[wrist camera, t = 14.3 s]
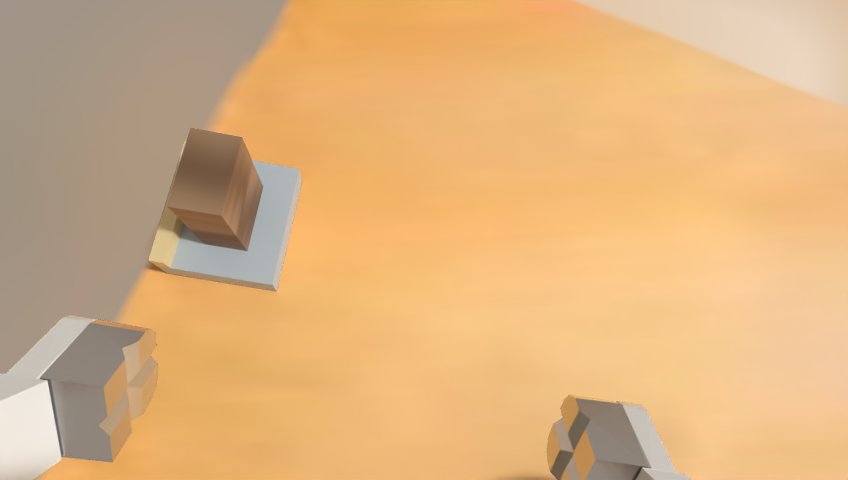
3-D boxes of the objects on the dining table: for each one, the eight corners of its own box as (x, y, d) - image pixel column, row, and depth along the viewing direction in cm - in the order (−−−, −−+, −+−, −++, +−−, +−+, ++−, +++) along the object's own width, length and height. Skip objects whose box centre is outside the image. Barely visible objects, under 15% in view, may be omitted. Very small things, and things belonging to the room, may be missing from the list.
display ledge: (276, 291, 40) (269, 280, 36) (167, 273, 39) (148, 260, 35) (302, 181, 42) (297, 160, 38) (200, 163, 42) (185, 139, 38)
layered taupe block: (247, 251, 38) (221, 215, 30) (201, 243, 37) (162, 205, 30) (263, 186, 39) (241, 137, 32) (218, 179, 39) (186, 127, 31)
